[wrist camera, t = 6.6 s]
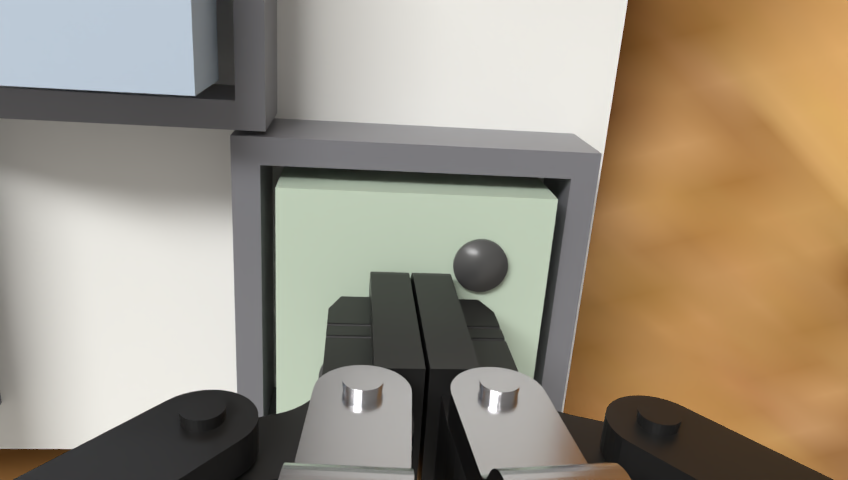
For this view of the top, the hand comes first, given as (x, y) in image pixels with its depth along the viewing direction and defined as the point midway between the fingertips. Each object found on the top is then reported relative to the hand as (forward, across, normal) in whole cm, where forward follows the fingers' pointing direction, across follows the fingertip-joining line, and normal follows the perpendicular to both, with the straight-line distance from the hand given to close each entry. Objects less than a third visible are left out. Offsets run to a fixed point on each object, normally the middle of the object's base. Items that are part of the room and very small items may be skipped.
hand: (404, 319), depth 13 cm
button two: (+2, 0, 0) cm, 2 cm away
